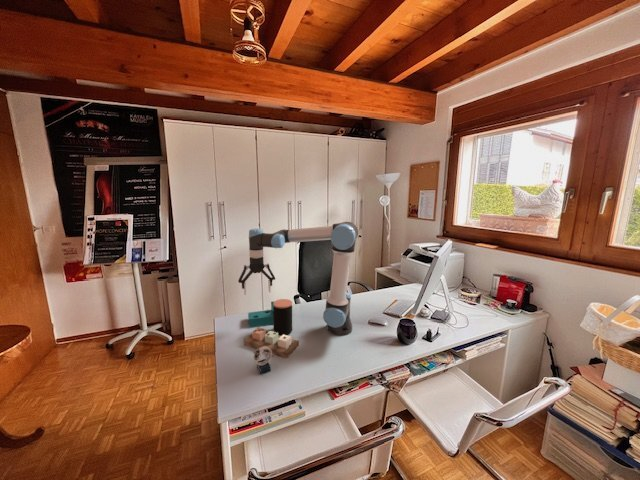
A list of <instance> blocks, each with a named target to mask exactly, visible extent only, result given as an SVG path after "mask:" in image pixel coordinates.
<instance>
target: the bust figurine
mask: <svg viewBox="0 0 640 480" xmlns="http://www.w3.org/2000/svg"><path fill="white" fill-rule="evenodd" d="M265 349H269V350H270V351H269V353H268V354H267V357H266V358H263V359H262V357H263V352H264V351H263V350H265ZM272 357H273V354H272V351H271V349H270V348H269V347H268V346H263V347H260V348H259V349H255V351H254V353H253V360H254V361H255V363H256V368H257V371H258V372H259V374H260V375H265V374H267V373H270V372H271V364H270V360H271V359H272Z"/></svg>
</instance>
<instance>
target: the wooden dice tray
mask: <svg viewBox="0 0 640 480" xmlns="http://www.w3.org/2000/svg"><path fill="white" fill-rule="evenodd" d="M268 332H269V331H267V330H266V334H267V333H268ZM280 337H281V335H278V339H279V338H280ZM243 342H244V346H246V347H249V348H252V349H254V350H257V349H259V348H260V347H263V346H268V347H269V348H270V349H271V351H272V356H276V357H278V358H279V357H280V358H283V359H286V360H288V358H289V357H291V355H292V354H293V353H294V352H295V351H296V350H297V349H298V347H300V340H299V339H298V340H297V339H294V338H291V345H290V346H289V347H288V348H287V349H285V348H282V347H278V341H277V342H276V343H274V344H273V345H272V344H269V343H265V337H264V338H263V339H262V340H261V341H259V340H256V339H253V338H252V334H250V335H249V336H248V337H247V338H245V339H244V341H243ZM269 351H270V350H269V349H265V350H263V352H264V353H268V354H269Z"/></svg>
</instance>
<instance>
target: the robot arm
mask: <svg viewBox="0 0 640 480" xmlns="http://www.w3.org/2000/svg"><path fill="white" fill-rule="evenodd" d="M358 230H359V229H358V227H357V225H355V224H354V223H353V222H351V221H343V222H338V223H332V224H331V225H329V226H328V225H326V226H314V227H304V228H295V229H294V228H293V229H285V228H283V229H280V230H278V231H276V232H273V233H267V232H266V233H265V232H264V230H263V229H262V228H251V229H249V231H248V244H249V246H248V247H249V250H248V251H249V254H248V256H249V265H246V264H244V265H243V270H242V272H241V273H240V276H239V278H238V281H237V282H238V283H239V284H240V283H241V289H242V290H243V291H244V292H243V293H244V295H245V296H246V295H247V286H246V282H247V280H248V279H249V278H250V277H251V275H252V274H260V273H262V274H263V275H264V276H265V277H266V278H267V279H268V287H267V288H268V293H271V287H272V286H273V281H275V280H276V277H275V275H274V274H273V272H272V270H271V268H270V264H269V263H267V264H264V248H271V249H273V248H274V249H282V248H283V247H284V245H285V244H288V243H297V242H298V243H301V242H303V243H304V242H315V241H328V240H329V241H331V248H330V249H331V250H332V252H333V259H332V261H333V262H332V270H331V280H330V288H329V296H327V297H326V300H325V308H324V309H325V310H324V311H323V315H322V317H323V318H322V319H323V321H324V323H325V324H326V330H327V331H328V333H330V334H332V335H336V336H346V335H349V334H350V333H352V331H353V323H352V320H351V317H350V316H351V301H352V300H351V299H352V296H351V295H352V294H351V293H350V291H348V283H349V275H350V274H349V273H350V265H351V257H352V254H353V253H355V246H356V241H357V238H358V235H359V231H358ZM248 269H249V271H248V273H246V272H247V270H248ZM264 269H267V271H268V273H269V274H270V275H269V274H268V273H267V272H266V270H264ZM245 274H246V275H245Z"/></svg>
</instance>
